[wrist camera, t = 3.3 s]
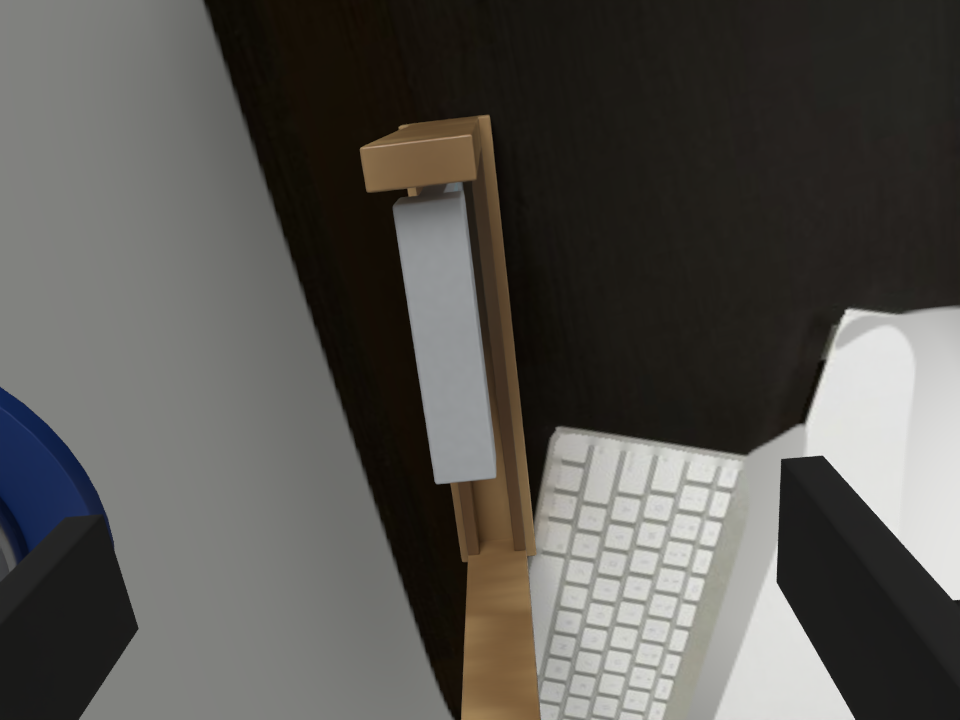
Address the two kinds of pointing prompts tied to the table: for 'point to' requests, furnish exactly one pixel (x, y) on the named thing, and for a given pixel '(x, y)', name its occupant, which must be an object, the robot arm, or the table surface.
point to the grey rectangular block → (446, 332)
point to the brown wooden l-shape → (505, 499)
